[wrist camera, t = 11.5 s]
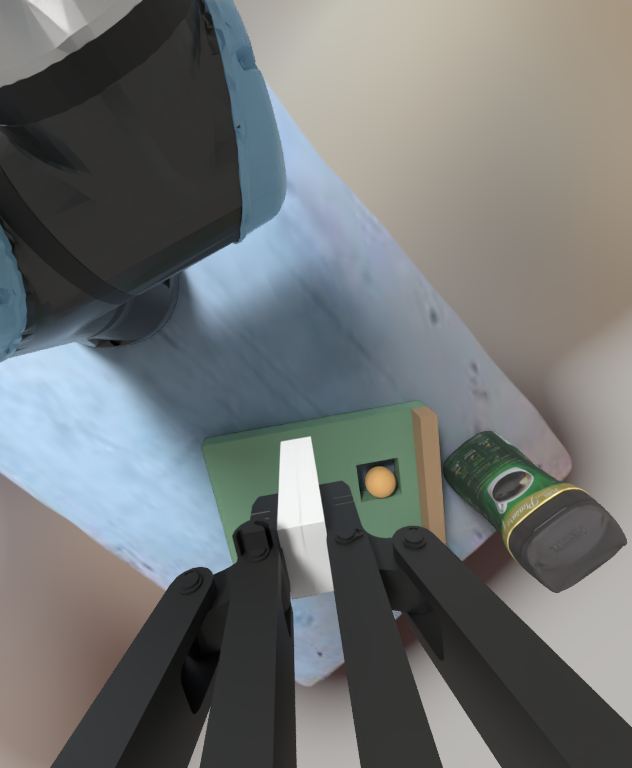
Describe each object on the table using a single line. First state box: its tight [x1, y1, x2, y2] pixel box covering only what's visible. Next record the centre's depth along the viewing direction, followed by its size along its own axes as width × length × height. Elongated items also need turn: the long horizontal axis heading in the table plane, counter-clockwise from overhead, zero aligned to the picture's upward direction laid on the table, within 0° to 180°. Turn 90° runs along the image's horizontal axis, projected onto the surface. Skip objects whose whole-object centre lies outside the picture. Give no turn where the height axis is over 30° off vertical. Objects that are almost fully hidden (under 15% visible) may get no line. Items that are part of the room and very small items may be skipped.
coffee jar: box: [443, 431, 627, 593], centre depth 40 cm, size 10×8×19 cm
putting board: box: [201, 400, 446, 564], centre depth 45 cm, size 28×18×6 cm, turn 99°
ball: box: [365, 466, 396, 498], centre depth 46 cm, size 4×4×4 cm
